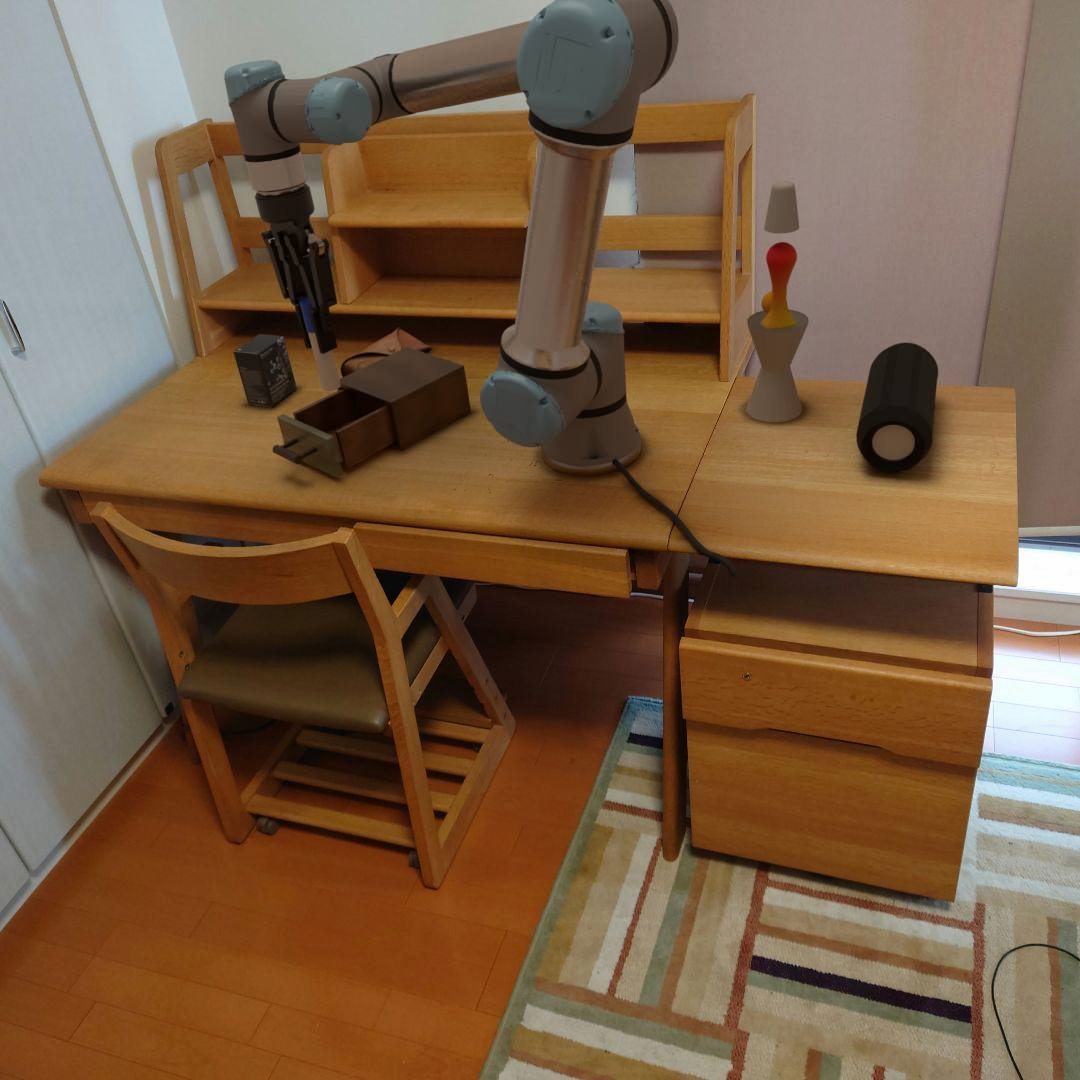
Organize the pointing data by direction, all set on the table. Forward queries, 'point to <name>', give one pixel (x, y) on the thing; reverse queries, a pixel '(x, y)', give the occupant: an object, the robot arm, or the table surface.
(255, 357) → the box
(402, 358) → the cabinet
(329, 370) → the marker
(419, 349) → the sunglasses case
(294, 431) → the drawer
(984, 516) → the table surface
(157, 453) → the table surface
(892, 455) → the portable speaker
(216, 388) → the table surface
